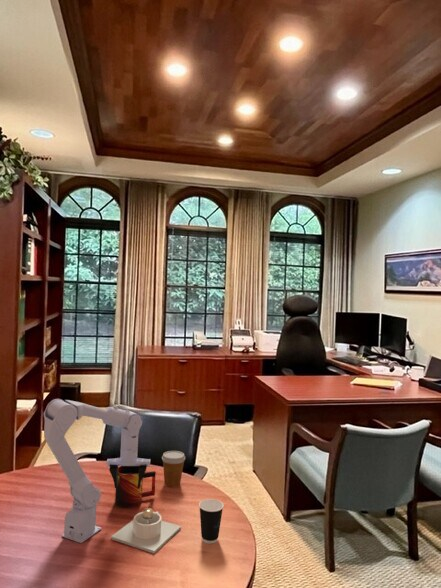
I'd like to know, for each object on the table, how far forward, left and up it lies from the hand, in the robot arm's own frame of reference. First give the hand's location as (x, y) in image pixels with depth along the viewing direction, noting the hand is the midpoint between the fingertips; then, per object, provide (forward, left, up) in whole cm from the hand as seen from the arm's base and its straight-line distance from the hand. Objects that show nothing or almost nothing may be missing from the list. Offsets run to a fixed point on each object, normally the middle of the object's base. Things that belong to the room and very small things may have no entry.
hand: (127, 486), depth 150 cm
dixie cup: (+2, -31, -11) cm, 33 cm away
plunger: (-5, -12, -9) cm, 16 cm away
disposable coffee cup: (+31, 0, -11) cm, 33 cm away
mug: (+11, +6, -11) cm, 17 cm away
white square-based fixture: (-5, -12, -10) cm, 17 cm away
